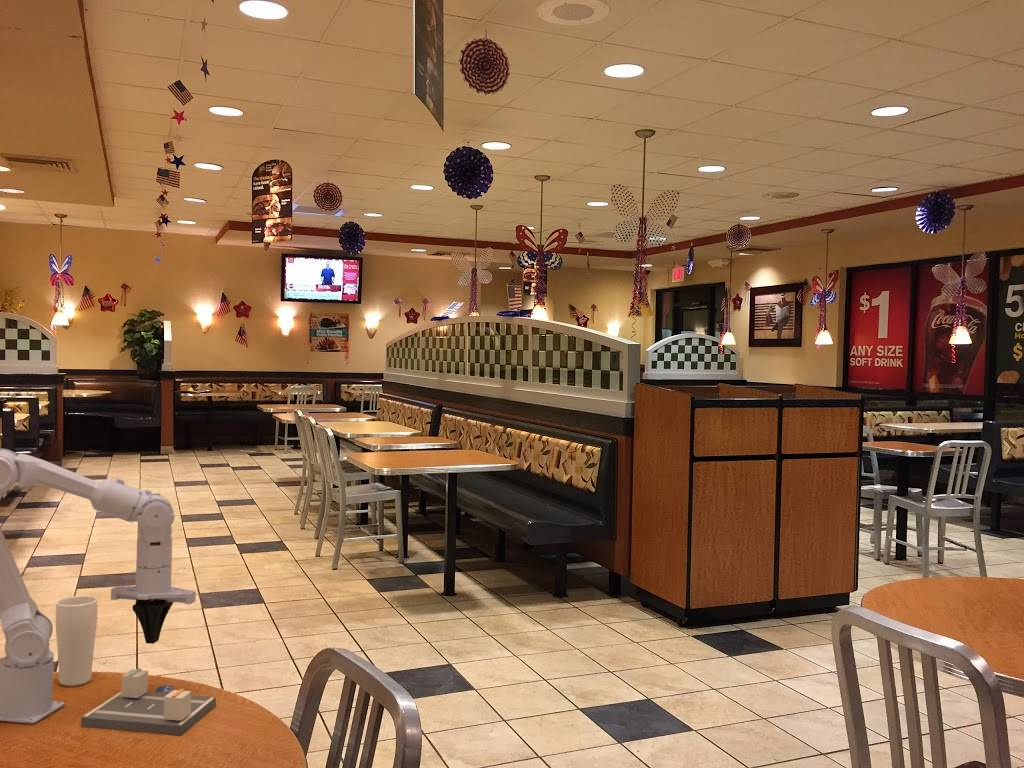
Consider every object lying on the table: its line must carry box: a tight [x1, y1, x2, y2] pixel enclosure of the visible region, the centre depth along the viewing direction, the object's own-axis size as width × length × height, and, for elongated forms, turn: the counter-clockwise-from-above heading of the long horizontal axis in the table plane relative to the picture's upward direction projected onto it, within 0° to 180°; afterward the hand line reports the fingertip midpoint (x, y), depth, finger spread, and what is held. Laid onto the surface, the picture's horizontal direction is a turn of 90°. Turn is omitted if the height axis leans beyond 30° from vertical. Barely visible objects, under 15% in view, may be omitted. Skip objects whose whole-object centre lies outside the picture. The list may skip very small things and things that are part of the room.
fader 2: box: [164, 688, 192, 721], centre depth 138 cm, size 3×3×4 cm
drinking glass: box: [55, 595, 98, 687], centre depth 156 cm, size 7×7×15 cm
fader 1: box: [120, 667, 149, 698], centre depth 146 cm, size 3×3×4 cm
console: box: [80, 690, 217, 736], centre depth 142 cm, size 17×12×2 cm
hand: (152, 641), depth 150 cm, fingers closed
